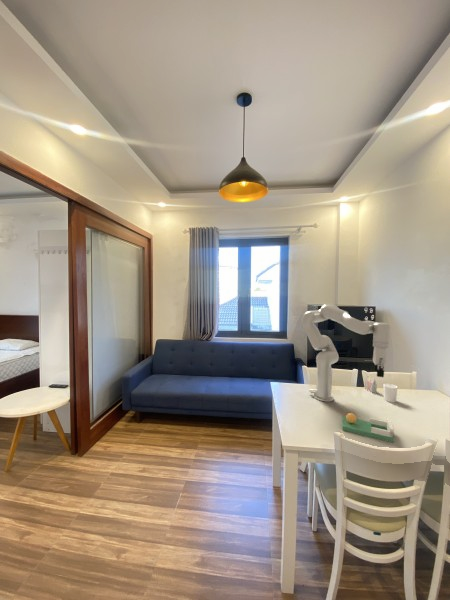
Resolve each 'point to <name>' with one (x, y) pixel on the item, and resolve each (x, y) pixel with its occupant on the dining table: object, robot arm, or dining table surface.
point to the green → (371, 428)
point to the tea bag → (371, 384)
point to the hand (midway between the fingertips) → (378, 374)
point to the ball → (351, 418)
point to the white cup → (390, 392)
